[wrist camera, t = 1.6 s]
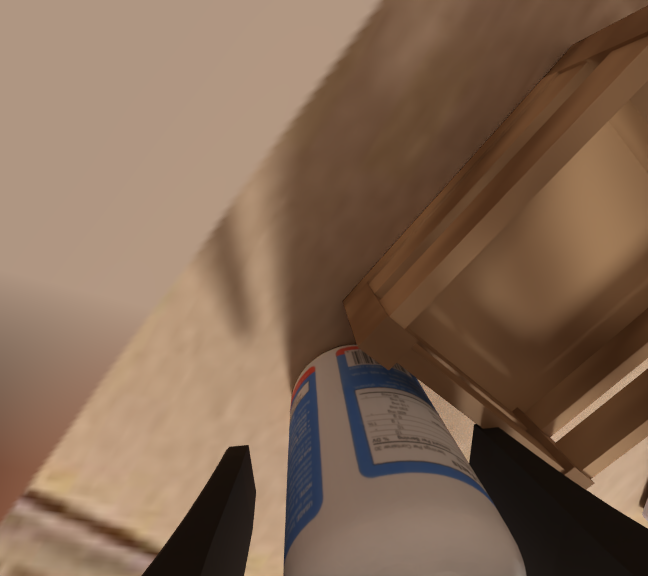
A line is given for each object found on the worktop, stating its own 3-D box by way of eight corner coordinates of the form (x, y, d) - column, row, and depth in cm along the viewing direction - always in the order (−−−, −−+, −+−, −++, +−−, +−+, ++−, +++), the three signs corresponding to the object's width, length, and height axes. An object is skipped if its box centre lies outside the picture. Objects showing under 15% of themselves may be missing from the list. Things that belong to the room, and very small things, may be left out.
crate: (572, 44, 10) (716, -31, 6) (719, 246, 12) (879, 269, 9) (342, 301, 12) (357, 347, 9) (504, 428, 14) (566, 503, 11)
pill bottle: (333, 464, 15) (383, 949, 5) (266, 382, 13) (169, 869, 4) (438, 408, 14) (702, 850, 5) (380, 315, 12) (609, 703, 3)
